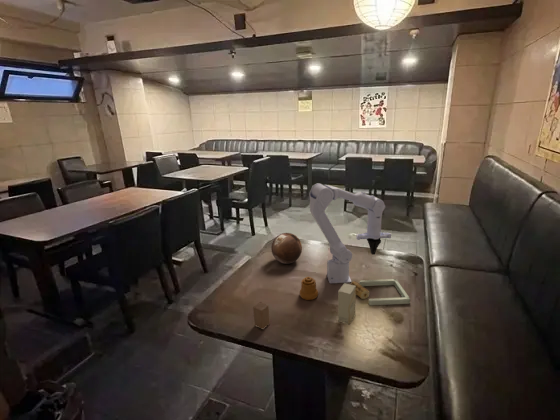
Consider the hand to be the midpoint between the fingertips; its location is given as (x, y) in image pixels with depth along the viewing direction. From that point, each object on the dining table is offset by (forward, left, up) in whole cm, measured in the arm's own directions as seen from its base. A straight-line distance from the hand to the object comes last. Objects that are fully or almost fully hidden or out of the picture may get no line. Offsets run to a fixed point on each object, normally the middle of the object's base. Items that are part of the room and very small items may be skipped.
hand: (372, 253), depth 134 cm
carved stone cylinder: (-10, -16, -10) cm, 21 cm away
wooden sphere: (-38, +14, -10) cm, 42 cm away
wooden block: (-48, -33, -10) cm, 59 cm away
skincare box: (-18, -31, -10) cm, 37 cm away
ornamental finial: (-30, -16, -10) cm, 35 cm away
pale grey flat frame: (0, -17, -9) cm, 19 cm away
